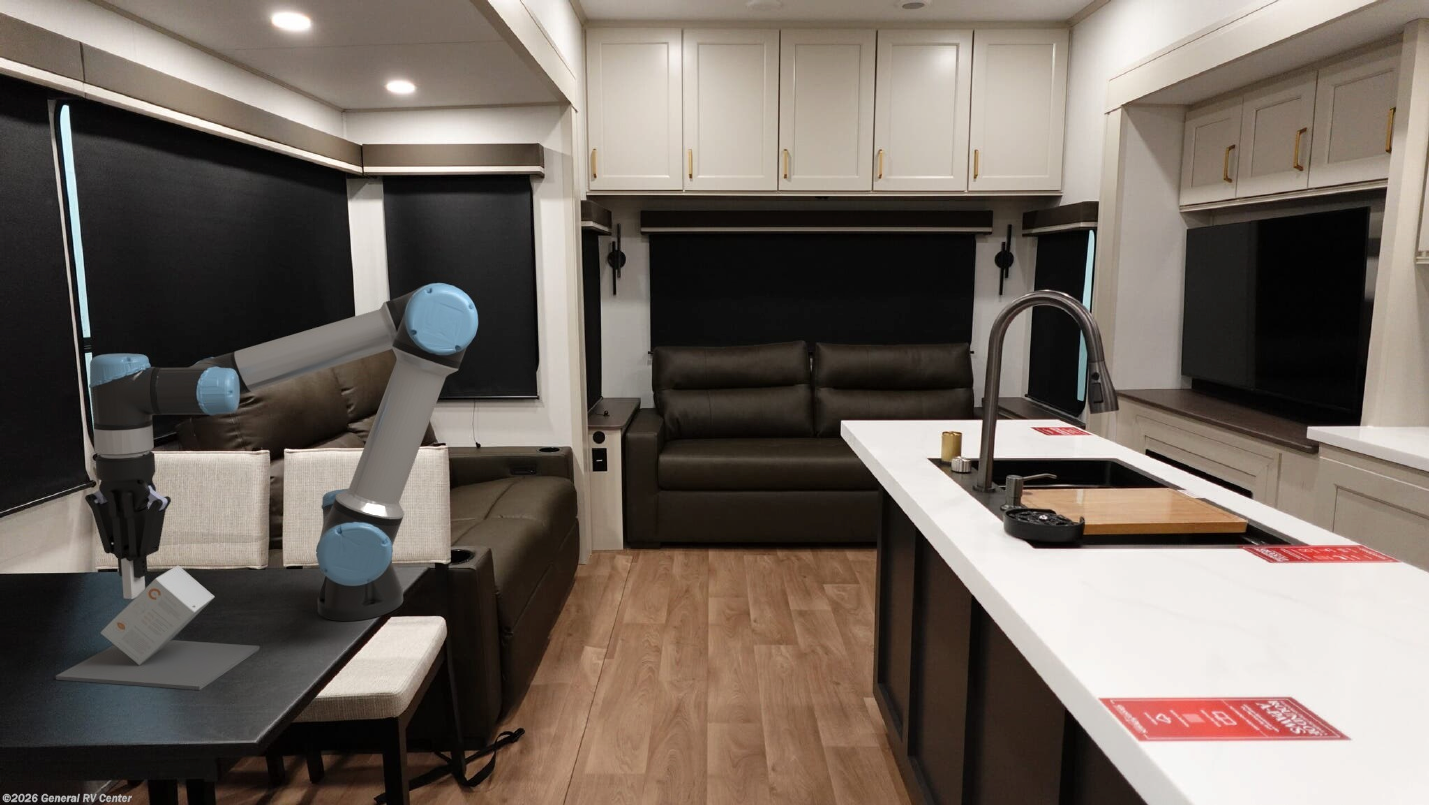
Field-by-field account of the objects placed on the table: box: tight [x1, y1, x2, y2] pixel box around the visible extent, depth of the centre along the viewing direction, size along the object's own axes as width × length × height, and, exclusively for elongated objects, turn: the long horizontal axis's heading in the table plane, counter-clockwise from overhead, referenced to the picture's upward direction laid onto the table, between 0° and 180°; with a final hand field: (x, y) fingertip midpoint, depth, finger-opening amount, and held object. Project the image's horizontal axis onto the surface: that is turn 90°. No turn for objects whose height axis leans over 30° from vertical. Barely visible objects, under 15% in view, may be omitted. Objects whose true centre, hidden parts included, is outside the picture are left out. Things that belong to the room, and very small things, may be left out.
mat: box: [55, 639, 261, 691], centre depth 132 cm, size 24×14×1 cm, turn 84°
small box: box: [100, 565, 216, 665], centre depth 132 cm, size 8×6×13 cm
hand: (134, 595), depth 131 cm, fingers closed
